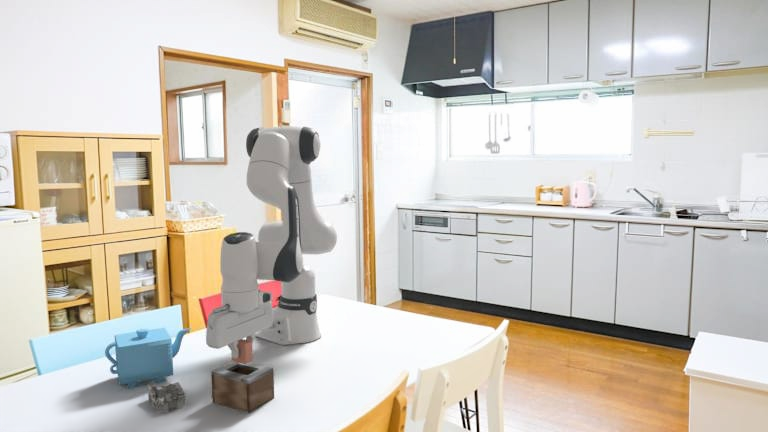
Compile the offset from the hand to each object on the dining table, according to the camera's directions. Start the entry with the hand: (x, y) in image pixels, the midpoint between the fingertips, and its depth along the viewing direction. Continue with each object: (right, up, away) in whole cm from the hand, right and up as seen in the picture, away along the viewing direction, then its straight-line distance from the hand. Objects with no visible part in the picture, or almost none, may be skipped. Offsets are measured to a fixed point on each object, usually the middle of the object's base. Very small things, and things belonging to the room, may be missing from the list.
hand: (241, 354), depth 136 cm
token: (0, -2, 0) cm, 2 cm away
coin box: (0, -12, +1) cm, 12 cm away
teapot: (-29, -10, +15) cm, 34 cm away
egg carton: (-19, -12, 0) cm, 22 cm away
